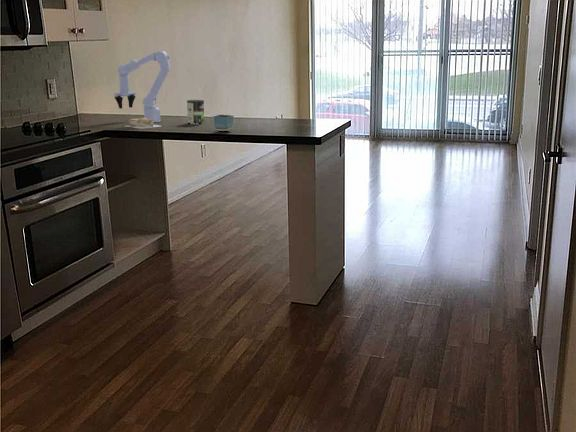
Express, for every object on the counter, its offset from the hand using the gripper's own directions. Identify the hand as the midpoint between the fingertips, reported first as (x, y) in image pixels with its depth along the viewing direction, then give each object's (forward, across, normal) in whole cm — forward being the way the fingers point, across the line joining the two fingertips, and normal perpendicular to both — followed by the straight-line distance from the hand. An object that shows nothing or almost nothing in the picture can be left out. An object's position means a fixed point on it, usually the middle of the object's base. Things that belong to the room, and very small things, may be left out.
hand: (125, 107), depth 373 cm
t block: (+8, +6, +25) cm, 27 cm away
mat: (+8, +6, +24) cm, 26 cm away
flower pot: (+9, -10, +74) cm, 75 cm away
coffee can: (+9, -24, +37) cm, 45 cm away
